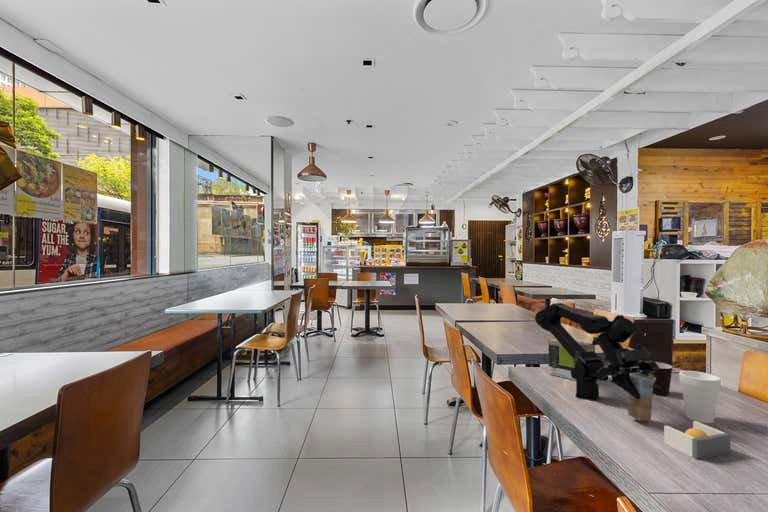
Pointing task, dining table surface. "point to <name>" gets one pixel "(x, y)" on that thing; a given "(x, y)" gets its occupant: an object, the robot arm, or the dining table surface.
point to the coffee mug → (661, 379)
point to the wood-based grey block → (641, 406)
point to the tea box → (564, 357)
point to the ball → (695, 433)
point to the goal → (698, 441)
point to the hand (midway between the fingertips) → (645, 397)
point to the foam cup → (700, 395)
